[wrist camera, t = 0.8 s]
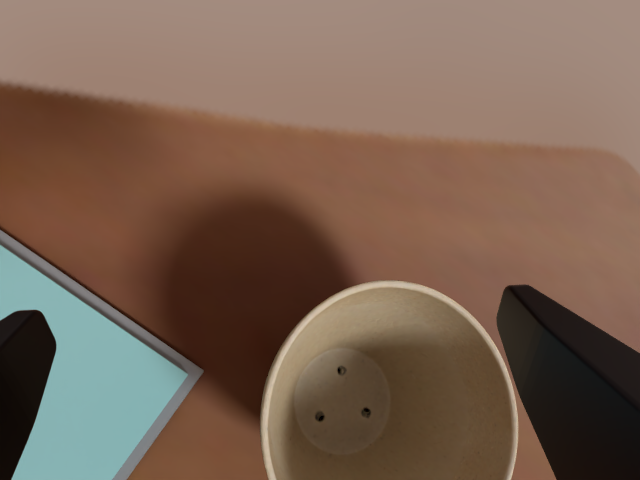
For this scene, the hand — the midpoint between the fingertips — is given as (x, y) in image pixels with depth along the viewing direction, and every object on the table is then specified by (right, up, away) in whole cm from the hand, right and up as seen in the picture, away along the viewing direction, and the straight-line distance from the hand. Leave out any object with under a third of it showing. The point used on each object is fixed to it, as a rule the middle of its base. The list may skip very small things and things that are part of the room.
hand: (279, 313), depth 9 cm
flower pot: (+2, -7, +14) cm, 16 cm away
